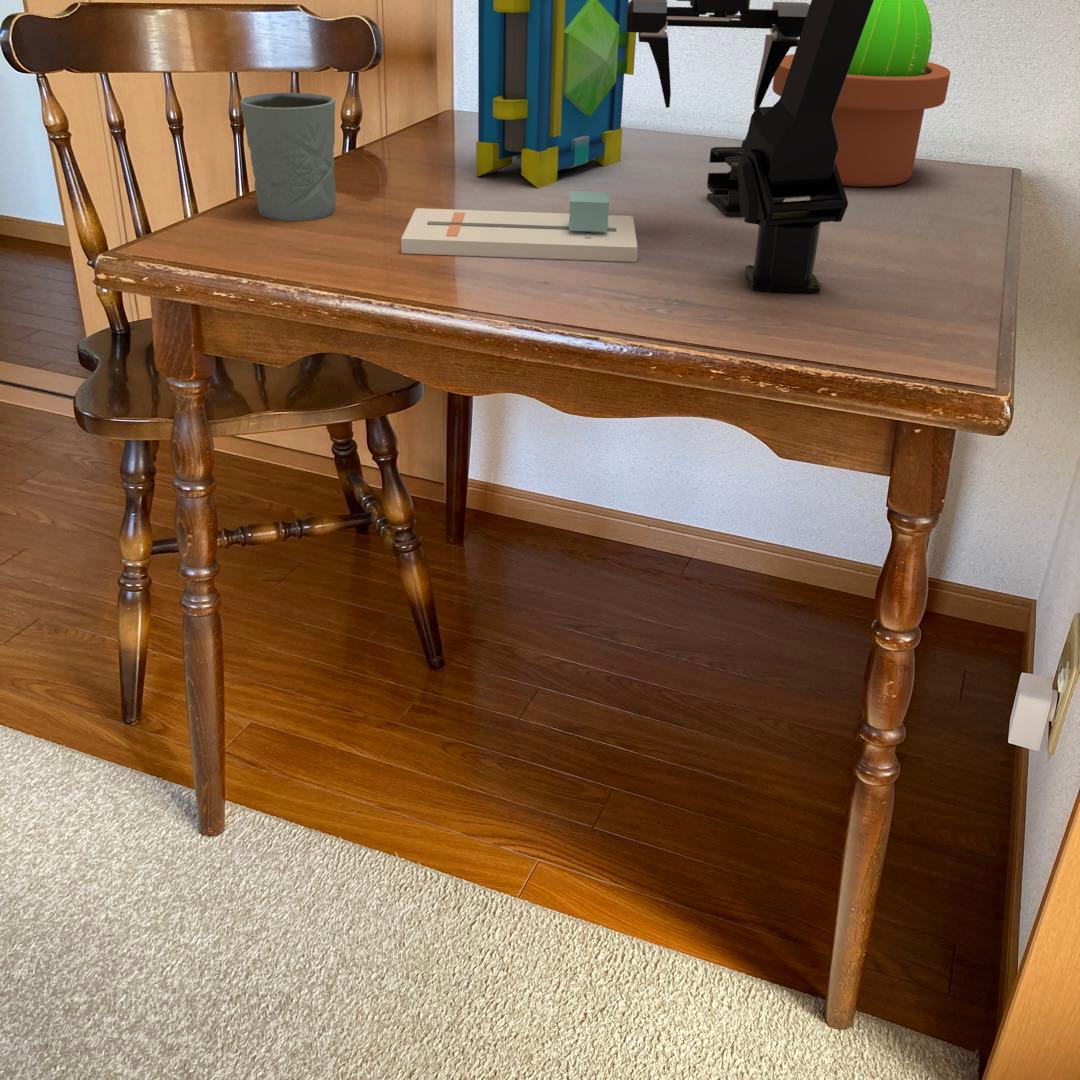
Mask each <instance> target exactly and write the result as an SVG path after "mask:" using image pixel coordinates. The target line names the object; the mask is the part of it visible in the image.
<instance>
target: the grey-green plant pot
mask: <svg viewBox="0 0 1080 1080" xmlns="http://www.w3.org/2000/svg"><path fill="white" fill-rule="evenodd" d="M240 108H241V113H242V118H243V119H242V120H243V124H244V128H245V129H244V130H245V134H246V138H247V140H246V141H247V142H246V143H247V147H248V149H249V151H250V161H251V166H252V173H253V177H254V190H255V197H256V201H257V208H258V209H257V210H258V214H260V215H261V216H262V217H265V218H267V219H272V220H276V221H285V222H306V221H313V220H314V221H315V220H320V219H323V218H327V217H330V216H331V215H332V214H334V213H335V210H336V182H335V181H336V180H335V175H334V172H335V171H334V170H335V158H334V157H335V156H334V155H335V153H334V147H335V140H336V138H335V137H336V136H335V133H336V100H335V98H334V97H332V96H328V95H325V94H317V93H306V92H275V93H273V92H272V93H271V92H270V93H262V94H254V95H250V96H245V97H243V98H241V99H240Z"/></svg>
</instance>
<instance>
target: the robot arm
mask: <svg viewBox="0 0 1080 1080" xmlns="http://www.w3.org/2000/svg"><path fill="white" fill-rule="evenodd" d="M676 1H677V2H690V4H689V5H690V7H689V6H688V7H687V6H668V0H630V1H629V3H628V6H627V25H626V32H636V34H637V33H638V34H637V35H638V36H637V37H638V38H637V39H638V42H639V43H648V46H649V47H650V51H651V54H652V57H653V60H654V62H655V65H656V68H657V71H658V77H659V80H660V85H661V90H662V95H663V100H664V105H665V108H666V109H667V108H668V109H669V108H670V104H671V94H672V93H671V92H672V90H671V89H672V88H671V72H670V71H671V70H670V50H669V35H668V32H667V31H666V30H668V27H689V28H692V27H695V28H726V29H727V28H731V29H733V28H736V29H759V30H760V29H761V30H762V29H768V30H769V31H770V34H765V40H764V45H763V46H764V47H763V54H762V59H761V63H760V69H759V73H758V77H757V82H756V87H755V90H754V91H755V92H754V100H753V101H754V102H753V110H754V111H753V112H752V113H751V116H750V119H749V120H750V121H749V125H748V129H747V133H746V135H745V138H744V140H742V142H743V143H742V142H741V146H740V147H742V148H744V150H743V153H742V155H741V157H740V160H739V164H738V182H739V202H740V214H741V216H743V217H742V218H744V220H743V221H744V222H745V223H746V224H750V225H751V224H752V225H758V231H757V232H758V233H757V239H756V247H755V255H754V261H753V262H754V263H753V265H745V268H744V272H745V274H746V277H747V280H748V282H749V284H750V286H751V289H752V290H754V291H770V292H771V291H772V292H773V291H774V292H795V293H796V292H800V293H801V292H802V293H820V292H821V289H822V287H821V285H820V283H819V281H818V279H817V277H816V276H815V274H814V268H815V262H816V256H817V249H818V243H819V236H820V230H821V223H829V222H835V223H840V222H842V221H843V219H844V216H845V213H846V210H847V208H848V205H849V201H848V198H847V195H846V192H845V189H844V186H843V185H842V182H841V179H840V176H839V172H838V169H837V166H836V163H835V161H836V157H837V153H838V149H839V142H838V138H837V134H836V130H835V126H834V122H833V114H834V110H835V107H836V105H837V102H838V99H839V96H840V93H841V91H842V88H843V85H844V82H845V79H846V77H847V74H848V71H849V68H850V66H851V63H852V60H853V57H854V54H855V52H856V49H857V46H858V43H859V41H860V38H861V35H862V32H863V29H864V27H865V24H866V21H867V18H868V15H869V13H870V10H871V7H872V4H873V2H874V0H810V4H809V3H808V2H798V1H797V2H795V1H793V2H792V1H773V3H772V6H771V7H772V8H771V9H770V8H767V9H765V8H750V5H751V0H676ZM707 14H708V16H706V15H707ZM792 47H793V48H794V47H796V48H795V51H794V57H793V60H792V63H791V67H790V70H789V73H788V76H787V79H786V82H785V85H784V89H783V92H782V95H781V96H779V97H780V98H779V99H778V101H776V102H775V103H774V105H772V106H761V105H762V103H763V100H764V98H765V96H766V94H767V92H768V89H769V87H770V86H771V83H772V82H773V80H774V75H775V72H776V71H777V69H778V67H779V66H780V64H781V62H782V61H783V59H784V57H785V56H787V55H788V53H789V50H790V49H791V48H792ZM802 198H804V199H805V198H809V199H805V200H803V199H802ZM775 199H785V200H787V199H788V200H789V199H802V200H791V201H790V200H789V201H783V202H775V203H774V201H773V200H775Z"/></svg>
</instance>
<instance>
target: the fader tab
mask: <svg viewBox="0 0 1080 1080" xmlns="http://www.w3.org/2000/svg"><path fill="white" fill-rule="evenodd" d="M569 192H570V195H569V197H570V198H569V214H570V215H569V231H593V232H607V230H608V215H609V212H610V211H609V209H610V198H609V197H610V196H609V192H606V191H583V190H582V191H581V190H580V191H579V190H570V191H569Z"/></svg>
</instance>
